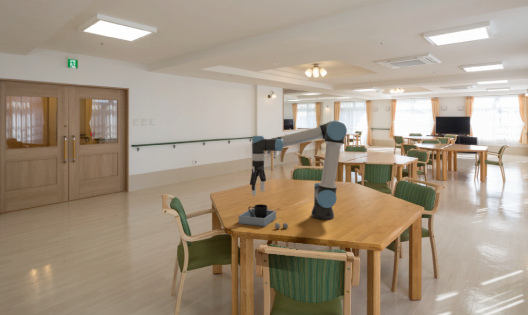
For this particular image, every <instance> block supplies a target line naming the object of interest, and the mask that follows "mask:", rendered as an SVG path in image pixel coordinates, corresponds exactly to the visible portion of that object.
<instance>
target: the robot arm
mask: <svg viewBox="0 0 528 315" xmlns="http://www.w3.org/2000/svg"><path fill="white" fill-rule="evenodd" d="M347 131H348V129H347V126H346V125H345V123H344V122H342V121H340V120H331V121H329V122H326V123H324V124H321V125H318V126H317V127H314V128H309V129H306V130H302V131H298V132H292V133H289V134H285V135H281V136H277V137H272V138H265V136H264V135H253V136H251V137H252V138H251V140H252V142H251V151H252V152H251V160H252V161H251V164H252V165H251V166H252V167H253V168H252V169H251V175H250V182H249V185H250V186H251V196H257V185H256V184H257V180H258V178H259V179H260V182H259V184H260V186H259V189H260V190H259V192H265V189H266V188H265V182H266V181H267V175H266V172H265V167H264V166H265V152H269V151H270V152H282V151H283V149H284V148H286V147H291V146H294V145H295V146H296V145H299V144H303V143H308V142H312V141H317V140H323V141H324V143H325V145H326V146H325V152H324V154H325V155H324V159H323V160H324V161H323V166H322V173H321V179H320V180H321V181H320V182H315V183H314V193H313V194H314V199H313V200H314V201H313V207H312V210H311V215H310V216H311V218H314V219H317V220H332V219H334V218H335V214H334V209H333V206H335V204H336V203H337V198H338V197H337V190H338V187H337V185H336V179H337V173H338V166H339V158H340V151H341V146H343V145H344V142H345V137H346V135H347Z"/></svg>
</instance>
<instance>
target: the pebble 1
mask: <svg viewBox="0 0 528 315" xmlns="http://www.w3.org/2000/svg"><path fill="white" fill-rule="evenodd" d="M274 228H275V229H276V230H279V229H280V228H281V224H280V222H276V223H275V224H274Z"/></svg>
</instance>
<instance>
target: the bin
mask: <svg viewBox="0 0 528 315" xmlns="http://www.w3.org/2000/svg"><path fill="white" fill-rule="evenodd" d="M250 211H251V213H252V215H253V216H254V217H252V215H251V214H250V212H249V209H248V210H246V211H244V212H243V213H241V214H239V215H238V224H240V225H246V226H254V227H262V228H265V227H267V226H268V225H269V224H271V223H272V222H274V220H276V219H277V211H276V210H272V211H271V210H267V215H266V217H265V218H256V217H255V211H254V208H252V207H251V208H250Z"/></svg>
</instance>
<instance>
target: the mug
mask: <svg viewBox="0 0 528 315" xmlns="http://www.w3.org/2000/svg"><path fill="white" fill-rule="evenodd" d="M252 208H253V209H254V211H255V217H256V218H265V217H266V215H267V209H268V205H267V204H263V203H261V204H254V206H248V210H249V212H250V214H251V215H252V213H251V211H250V209H252ZM252 217H254V216H253V215H252Z"/></svg>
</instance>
